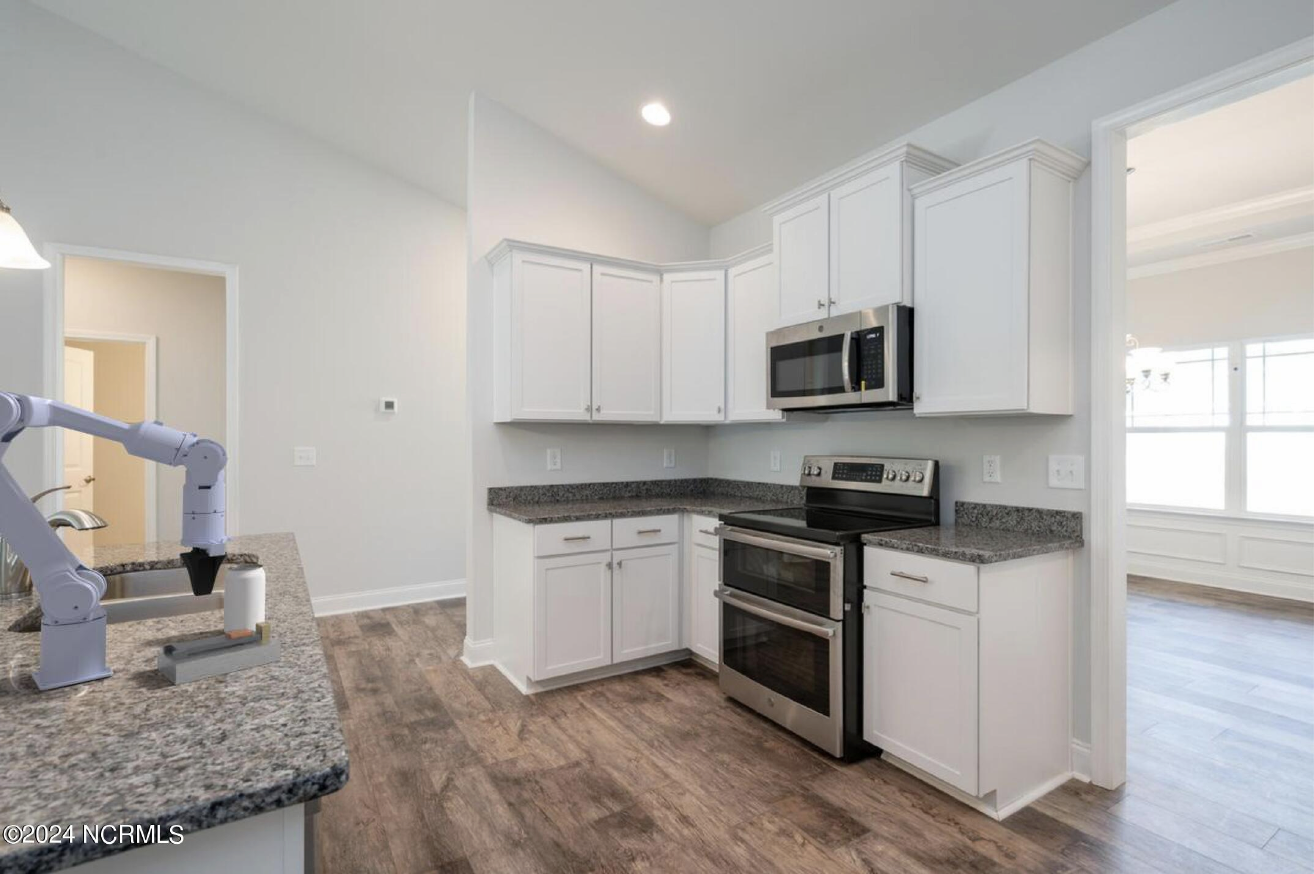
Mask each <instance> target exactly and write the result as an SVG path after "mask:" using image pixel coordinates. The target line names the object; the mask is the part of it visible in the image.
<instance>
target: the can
mask: <svg viewBox="0 0 1314 874" xmlns="http://www.w3.org/2000/svg"><path fill="white" fill-rule="evenodd" d="M263 567H264V565H263V564H259V563H247V564H237V565H232V566H228V568H227V572H226V574H225V577H224V597H223V598H224V599H223V603H224V604H223V632H224V633H225V632H227V631H232V630H238V629H243V628H247V629H249V630H253V631H256V623H259V622H266V621H265V620H266V617H265V616H266V615H265V613H266V572H265V569H264V568H263Z"/></svg>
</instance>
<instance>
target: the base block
mask: <svg viewBox="0 0 1314 874" xmlns="http://www.w3.org/2000/svg"><path fill="white" fill-rule="evenodd" d="M255 632H257V633H259V634H261V639H260V640H255V641H250V642H245V643H240V644H235V645H230V646H225V647H220V648H215V649H210V650H205V651H200V652H195V653H190V654H187V650H186V649H183V650H178V651H172V650H171V645H173V644H178V643H177V642H170V643H165V644H162V649H157V661H156V662H157V664H156V670H157V671H159V672H160V673H161V674H162V673H163V674H162V675H163V676H164V675H165V676H164V677H165V678H167V679H168V680H169V681H170V682H171V683H172V684H174V685H175V686H178V685H184V684H187V683H192V682H195V681H199V680H204V679H208V678H212V677H216V676H220V675H226V674H228V673H229V674H230V673H233V672H237V671H243V670H246V669H251V668H254V667H259V666H263V665H267V664H268V665H269V664H272V663H275V662H280V661H282V641H280V640H278V639H276V638H274V637H272V636H271V624H269V623H267V622H266V621H265V622H259V623H256V631H255ZM271 662H272V663H271Z"/></svg>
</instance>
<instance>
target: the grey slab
mask: <svg viewBox="0 0 1314 874" xmlns="http://www.w3.org/2000/svg"><path fill="white" fill-rule="evenodd" d="M224 633H225V634H222V635H217V636H211V637H205V638H201V639H194V640H188V641H185V642H178V643H177V644H173V645H171V650H172V651H178V650H183V649H186V650H187V654H190V653H195V652H200V651H205V650H210V649H215V648H220V647H225V646H230V645H235V644H240V643H245V642H250V641H255V640H260V639H261V634H259V633H257V632H255V631H253V630H249V629H247V628H243V629H238V630H232V631H227V632H224Z"/></svg>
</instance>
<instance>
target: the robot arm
mask: <svg viewBox="0 0 1314 874" xmlns="http://www.w3.org/2000/svg"><path fill="white" fill-rule="evenodd" d="M165 423H166V422H164V421H161V420H159V419H154V421H153V422H152V421H149V420H142V421H139V422H136V423H133V424H129V423H126V422H123V421H120V420H116V419H114V418H110V417H107V416H105V415H101V414H98V413H96V412H92V411H90V410H86V409H84V408H79V407H77V406H74V405H71V404H67V403H66V402H61V401H58V400H54V399H49V398H45V397H44V398H43V397H39V396H38V397H37V396H32V395H28V394H21V393H15V392H11V391H5V390H2V389H0V535H1V537H2V538H3V539H4V541H5V542H6V544H7V545H8V546H9V547H10V548H11V550H12V551H13V552H14V554H15V555H16V556H17V557H18V559H19V560H20V561H21V562H22V564H23V565H24V566H25V567H26V569H27V570H28V571H29V576H30V580H31V582H32V586H33V587H34V588H35V589H36V591H37V593H38V595H39V597H40V599H39V600H40V610H41V611H42V613H43V614H44V615H43V616H42V617H40V622H41V623H40V650H39V651H40V654H39V655H40V656H39V657H40V660H39V661H40V663H39V666H40V667H39V670H35V671H33V672H31V673H30V676H31V678H32V679H33V681H34V682H35V684H36V686H37V688H38V689H39V691H45V690H46V691H47V690H51V689H57V688H61V687H65V686H70V685H75V684H79V683H84V682H88V681H93V680H97V679H103V678H108V677H111V676H113V675H114V671H113V670H112V669H111V668H110V667H109V666H108V665H107V664H106V659H107V658H106V657H107V656H106V654H107V613H108V612H107V609H105V608H103V606H101V604H100V603H99V601H101V600H102V598H103V597H104V596H105V593H106V591H107V587H108V585H107V581H106V578H105V577H104V576H103V575H102V574H101V573H100V572H98V571H97V570H94V569H92V568H90V567H88V566H87V565H86V564H85V563H84V562H83V561H82V560H81V558H80V557H78V556H77V555H76V554H74V553H73V552H72V551H71V550H70V549H69V548H68V547H67V546H66V544H65V543H64V542H63V540H62V539H61V538H60V536H59V535H58V533H57V532H56V531H55V529H54V528H53V527H52V526H51V525H50V523H49V521H47V519H46V517H45V516H43V513H42V512H41V511H40V510H39V508H38V507H37V506H36V505H35V503H34V502H33V501H32V499H31V498H30V497H29V496H28V494H27V493H26V491H25V490H24V489H23V487H22V486H21V485H20V484H19V482H18V481H17V479H16V478H15V477H14V476H13V474H12V472H10V471H9V469H8V468H7V466H5V463H4V462H3V458H4V455H5V454H6V452H7V450H8V449H9V447H10V445H11V443H12V441H13V440H14V439H15V438H17V436H18V435H19V434H21V433H22V432H23V431H24V430H25V429H26V428H37V429H38V428H48V427H50V428H51V427H60V428H64V429H68V430H71V431H72V430H73V431H76V432H79V433H83V434H87V435H91V436H94V437H98V438H103V439H105V440H108V441H109V440H110V441H114V442H117V443H121V445H123V447H124V449H125V451H126V452H127V454H128V455H131V456H134V457H138V458H141V459H145V460H149V461H152V462H155V463H159V464H163V465H167V466H170V467H174V468H177V467H179V466H184V467H185V483H184V484H183V485H182V520H181V521H182V525H181V527H182V528H181V530H182V532H181V533H182V535H181V539H180V542H179V543H180V546H181V547H184V548H192V549H191V550H190V551H188V552H187V551H186V552H180V553H179V557H180V559H181V560H182V563H184V565H185V567H186V568H185V569H186V571H187V573H188V578H189V581H190V586H191V590H192V593H193V595H194V596H195V597H201V596H207V595H212V593H213V590H214V587H215V583H216V578H217V575H218V573H219V570H220V567H221V565H222V563H223V562H224V560H225V559H226V557H227V555H228V553H227V551H226V542H231V541H234V537H233V535H226V534H225V533H226V532H225V531H226V495H227V494H226V492H227V491H226V485H227V484H226V483H225V482H224V481H225V479H226V473H225V470H224V468H225V467H226V465H227V463H228V459H229V458H228V456H227V452H226V450H225V448H224V447H223V446H222V445H221V444H220V443H218V442H217V441H214V440H212V439H210V438H200V439H199V436H200V434H199V433H198V432H194V431H192V432H191V433H187V432H186V431H185V432H184V431H183V430H178V429H176V428H172V427H168V426H166V425H165Z"/></svg>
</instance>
